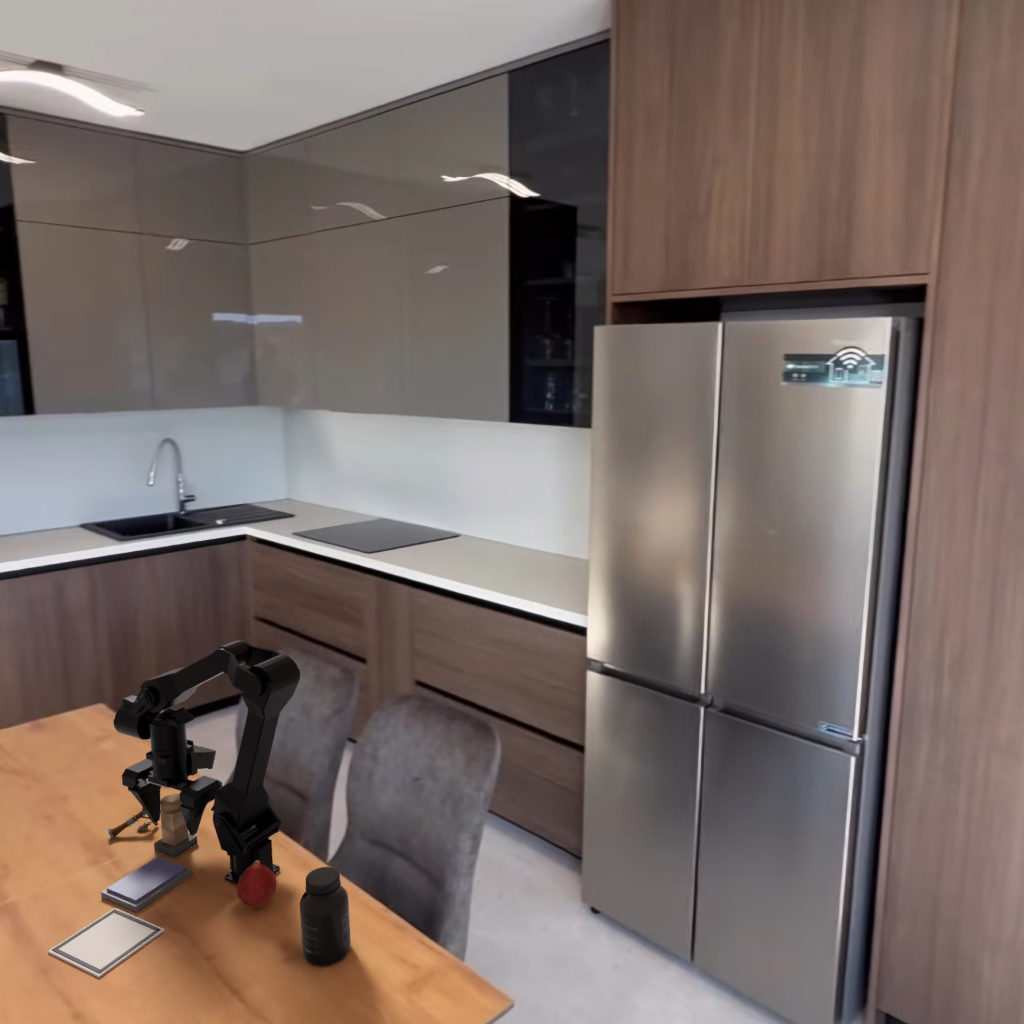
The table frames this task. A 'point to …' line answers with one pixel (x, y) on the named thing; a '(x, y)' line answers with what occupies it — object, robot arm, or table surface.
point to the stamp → (173, 828)
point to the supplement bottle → (324, 918)
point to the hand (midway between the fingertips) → (174, 827)
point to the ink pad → (146, 883)
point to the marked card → (106, 942)
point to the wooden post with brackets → (129, 822)
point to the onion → (256, 885)
